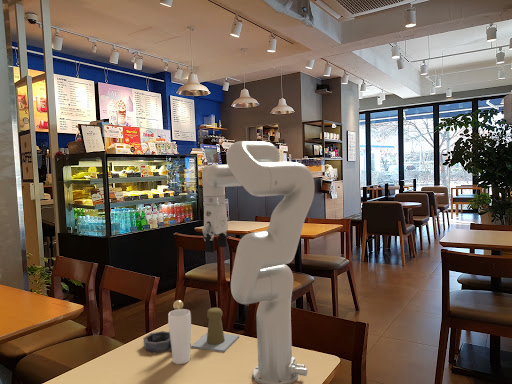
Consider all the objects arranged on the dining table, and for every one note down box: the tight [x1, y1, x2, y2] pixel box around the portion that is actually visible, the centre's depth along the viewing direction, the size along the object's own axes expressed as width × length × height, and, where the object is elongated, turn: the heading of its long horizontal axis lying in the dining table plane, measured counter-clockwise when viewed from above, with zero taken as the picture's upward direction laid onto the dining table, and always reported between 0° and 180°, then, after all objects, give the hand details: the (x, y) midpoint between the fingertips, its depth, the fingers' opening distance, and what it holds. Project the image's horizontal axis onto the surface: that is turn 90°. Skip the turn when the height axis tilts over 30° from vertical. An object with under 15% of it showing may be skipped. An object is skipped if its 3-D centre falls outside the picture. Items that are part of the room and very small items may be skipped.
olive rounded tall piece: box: [206, 307, 225, 345], centre depth 132 cm, size 6×6×11 cm
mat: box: [190, 331, 240, 353], centre depth 133 cm, size 12×12×1 cm
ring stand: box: [143, 299, 192, 354], centre depth 130 cm, size 15×10×16 cm, turn 69°
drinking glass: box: [167, 308, 192, 365], centre depth 120 cm, size 7×7×15 cm
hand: (216, 249), depth 139 cm, fingers open, 9 cm apart
